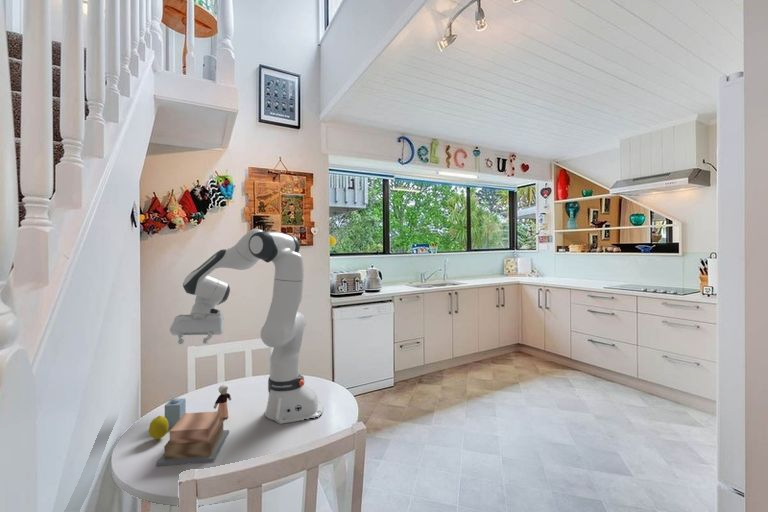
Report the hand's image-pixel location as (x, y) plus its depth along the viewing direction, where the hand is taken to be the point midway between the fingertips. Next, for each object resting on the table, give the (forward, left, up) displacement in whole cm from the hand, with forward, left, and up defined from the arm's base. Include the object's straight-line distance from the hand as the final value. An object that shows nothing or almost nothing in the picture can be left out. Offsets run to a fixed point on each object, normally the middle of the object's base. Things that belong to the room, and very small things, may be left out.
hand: (192, 343), depth 140 cm
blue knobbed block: (0, +16, -25) cm, 30 cm away
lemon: (+1, +26, -25) cm, 37 cm away
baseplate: (-13, +33, -25) cm, 43 cm away
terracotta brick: (-13, +33, -24) cm, 43 cm away
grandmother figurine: (-16, +14, -25) cm, 33 cm away
